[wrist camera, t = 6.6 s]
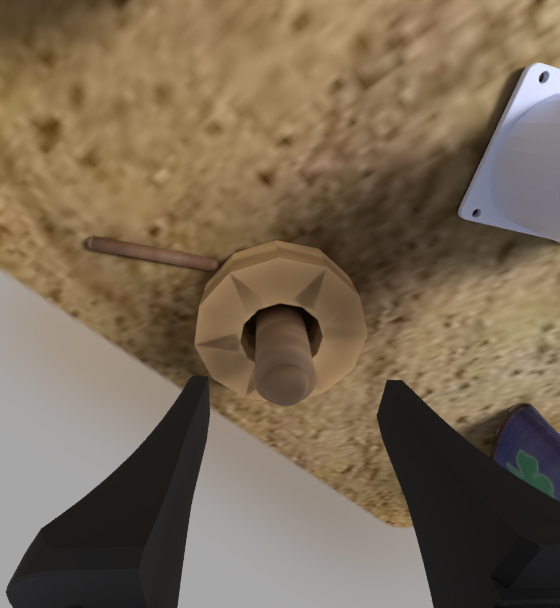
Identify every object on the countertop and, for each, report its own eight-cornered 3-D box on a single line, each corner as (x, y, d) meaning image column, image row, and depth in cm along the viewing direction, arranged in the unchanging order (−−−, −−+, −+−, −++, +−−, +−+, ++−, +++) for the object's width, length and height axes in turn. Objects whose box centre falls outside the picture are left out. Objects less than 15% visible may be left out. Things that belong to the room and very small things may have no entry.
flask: (511, 467, 34) (607, 601, 25) (482, 470, 34) (567, 605, 25) (538, 399, 30) (668, 531, 20) (505, 403, 30) (618, 536, 20)
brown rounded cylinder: (298, 289, 23) (316, 368, 16) (304, 328, 25) (322, 416, 17) (252, 296, 23) (248, 379, 16) (260, 335, 25) (260, 426, 18)
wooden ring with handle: (375, 259, 22) (390, 279, 20) (329, 381, 27) (336, 409, 24) (88, 202, 20) (62, 215, 17) (94, 348, 24) (74, 376, 22)
